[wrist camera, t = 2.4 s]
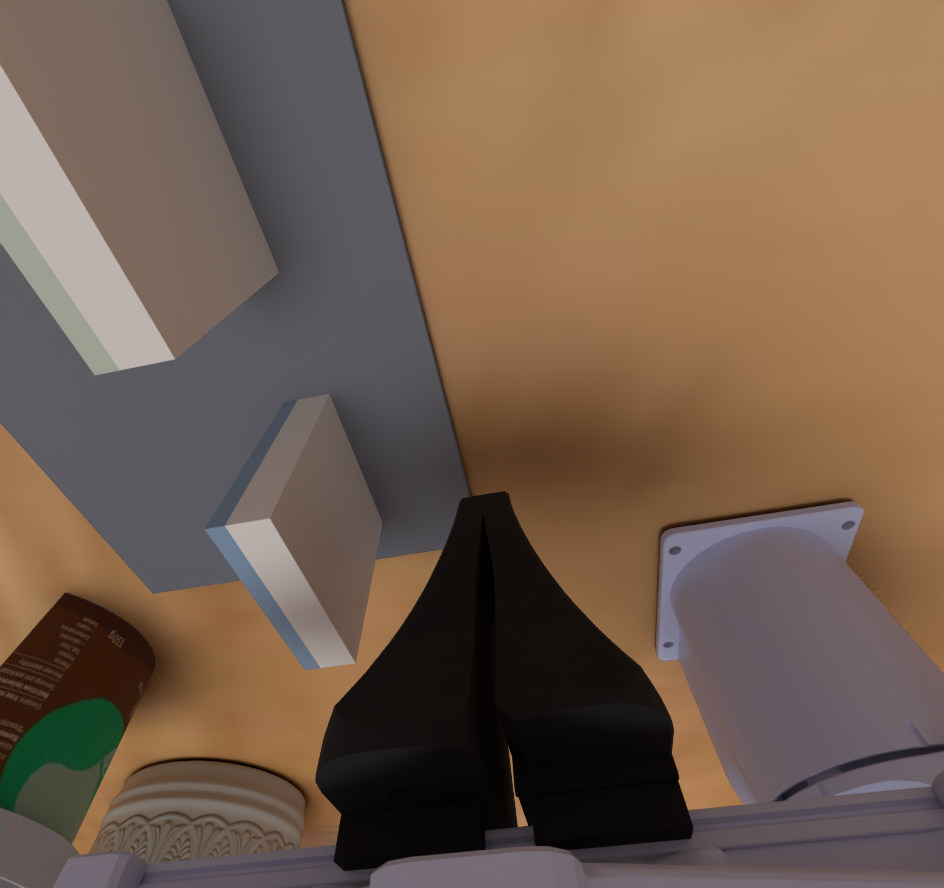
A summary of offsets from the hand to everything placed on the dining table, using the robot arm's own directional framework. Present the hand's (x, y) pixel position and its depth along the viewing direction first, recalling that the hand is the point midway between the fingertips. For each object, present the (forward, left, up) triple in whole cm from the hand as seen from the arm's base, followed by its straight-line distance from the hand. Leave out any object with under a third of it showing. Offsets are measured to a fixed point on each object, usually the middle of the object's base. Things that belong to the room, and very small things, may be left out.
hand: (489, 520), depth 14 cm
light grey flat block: (0, +5, -4) cm, 7 cm away
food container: (-10, +21, -5) cm, 24 cm away
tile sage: (+10, +5, -4) cm, 12 cm away
